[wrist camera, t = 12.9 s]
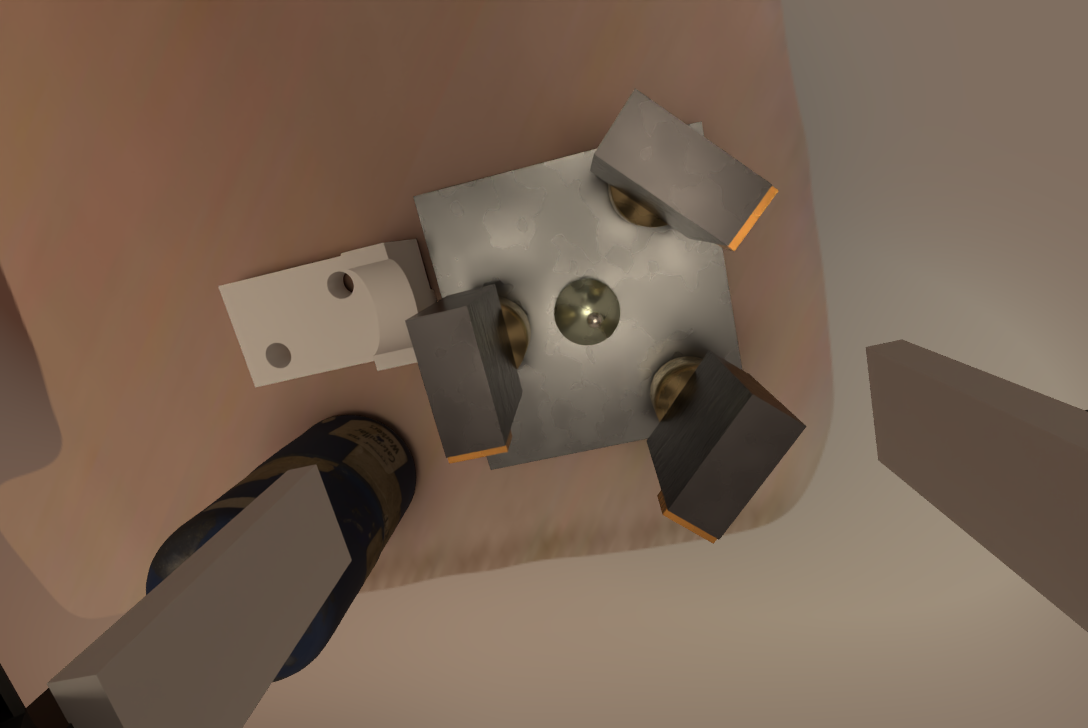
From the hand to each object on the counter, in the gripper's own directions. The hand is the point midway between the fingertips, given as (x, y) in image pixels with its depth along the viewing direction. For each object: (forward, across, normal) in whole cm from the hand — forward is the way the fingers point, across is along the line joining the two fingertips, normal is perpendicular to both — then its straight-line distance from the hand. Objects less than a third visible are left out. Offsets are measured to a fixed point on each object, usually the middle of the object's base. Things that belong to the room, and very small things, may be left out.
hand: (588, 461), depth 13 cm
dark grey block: (+26, +6, +6) cm, 27 cm away
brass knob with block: (+26, +6, -8) cm, 28 cm away
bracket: (+27, -16, +3) cm, 32 cm away
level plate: (+27, 0, -1) cm, 27 cm away
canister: (+27, -19, -9) cm, 34 cm away
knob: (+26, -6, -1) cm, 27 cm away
